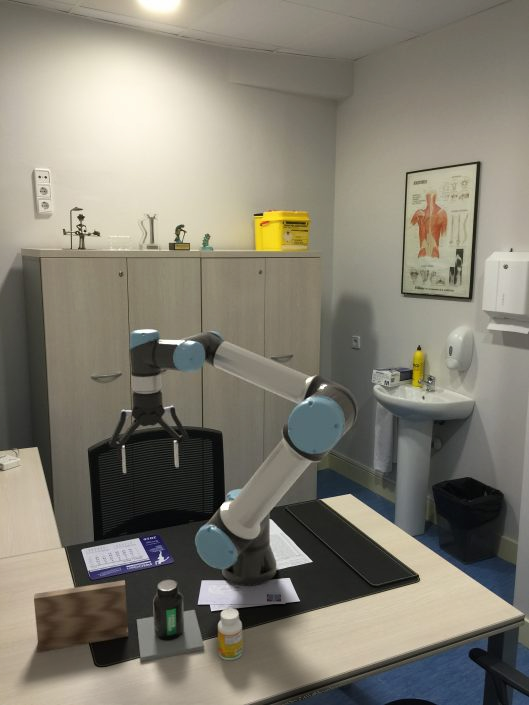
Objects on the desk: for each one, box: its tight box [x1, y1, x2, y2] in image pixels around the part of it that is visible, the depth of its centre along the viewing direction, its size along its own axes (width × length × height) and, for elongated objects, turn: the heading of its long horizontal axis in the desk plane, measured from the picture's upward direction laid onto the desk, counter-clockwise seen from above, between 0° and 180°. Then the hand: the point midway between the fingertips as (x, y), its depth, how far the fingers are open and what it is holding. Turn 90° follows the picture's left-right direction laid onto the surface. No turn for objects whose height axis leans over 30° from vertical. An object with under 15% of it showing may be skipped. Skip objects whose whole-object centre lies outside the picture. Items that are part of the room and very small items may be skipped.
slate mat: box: [136, 609, 205, 662], centre depth 141 cm, size 14×14×1 cm
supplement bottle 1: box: [152, 579, 184, 641], centre depth 140 cm, size 7×7×12 cm
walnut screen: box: [33, 579, 129, 653], centre depth 140 cm, size 20×6×12 cm, turn 105°
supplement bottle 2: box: [217, 607, 244, 661], centre depth 134 cm, size 5×5×10 cm
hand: (150, 468), depth 159 cm, fingers open, 13 cm apart
